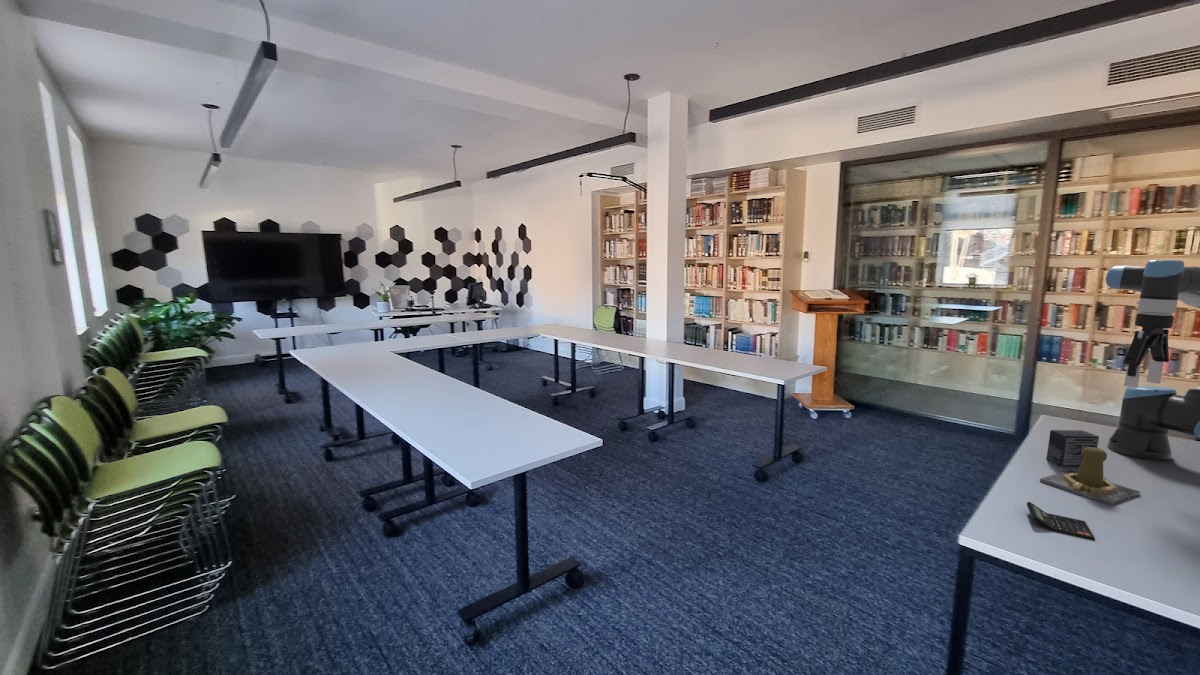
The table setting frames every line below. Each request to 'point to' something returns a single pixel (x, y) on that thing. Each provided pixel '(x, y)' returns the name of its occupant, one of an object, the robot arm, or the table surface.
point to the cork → (1092, 467)
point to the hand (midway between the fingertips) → (1142, 384)
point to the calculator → (1060, 523)
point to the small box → (1069, 446)
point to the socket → (1090, 488)
